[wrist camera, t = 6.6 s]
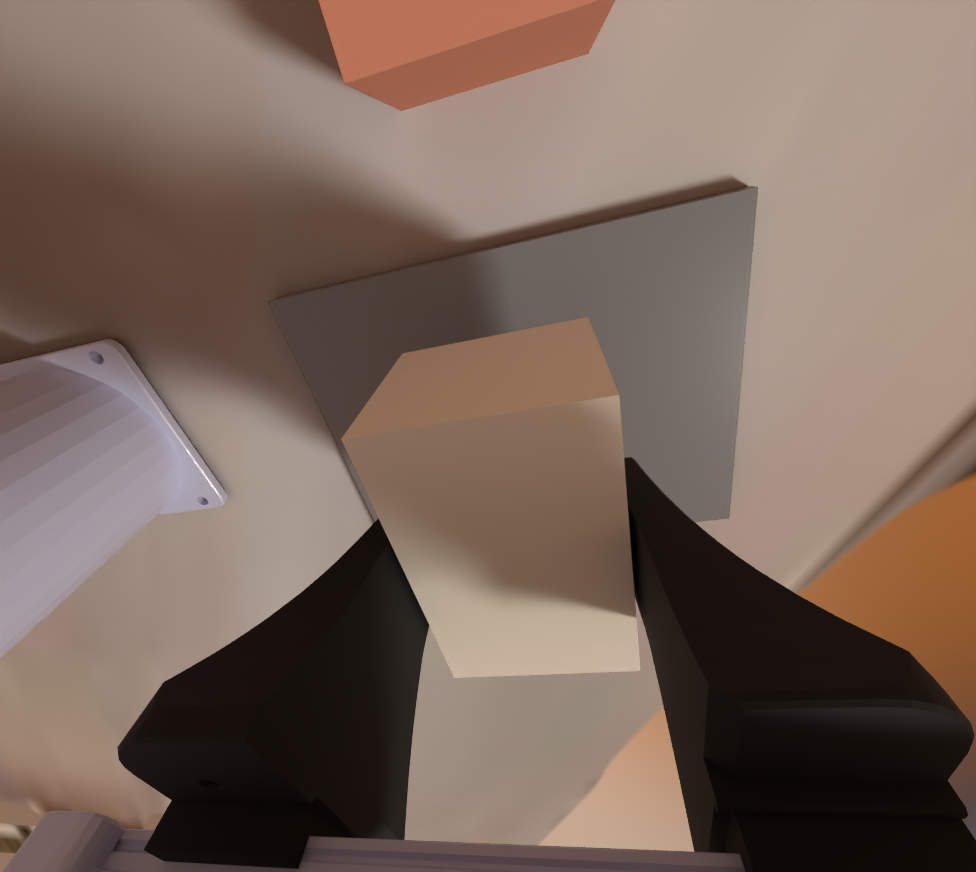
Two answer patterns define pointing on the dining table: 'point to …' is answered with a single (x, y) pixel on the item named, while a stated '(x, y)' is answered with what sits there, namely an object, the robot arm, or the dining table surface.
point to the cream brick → (507, 499)
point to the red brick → (453, 42)
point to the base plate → (564, 297)
